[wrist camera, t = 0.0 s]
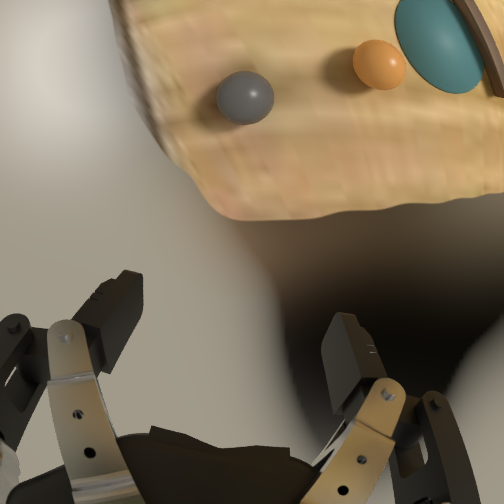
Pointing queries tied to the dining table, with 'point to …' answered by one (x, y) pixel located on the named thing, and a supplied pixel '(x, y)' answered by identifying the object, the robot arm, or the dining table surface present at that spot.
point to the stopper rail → (484, 44)
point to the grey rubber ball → (244, 97)
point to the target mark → (439, 44)
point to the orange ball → (379, 64)
